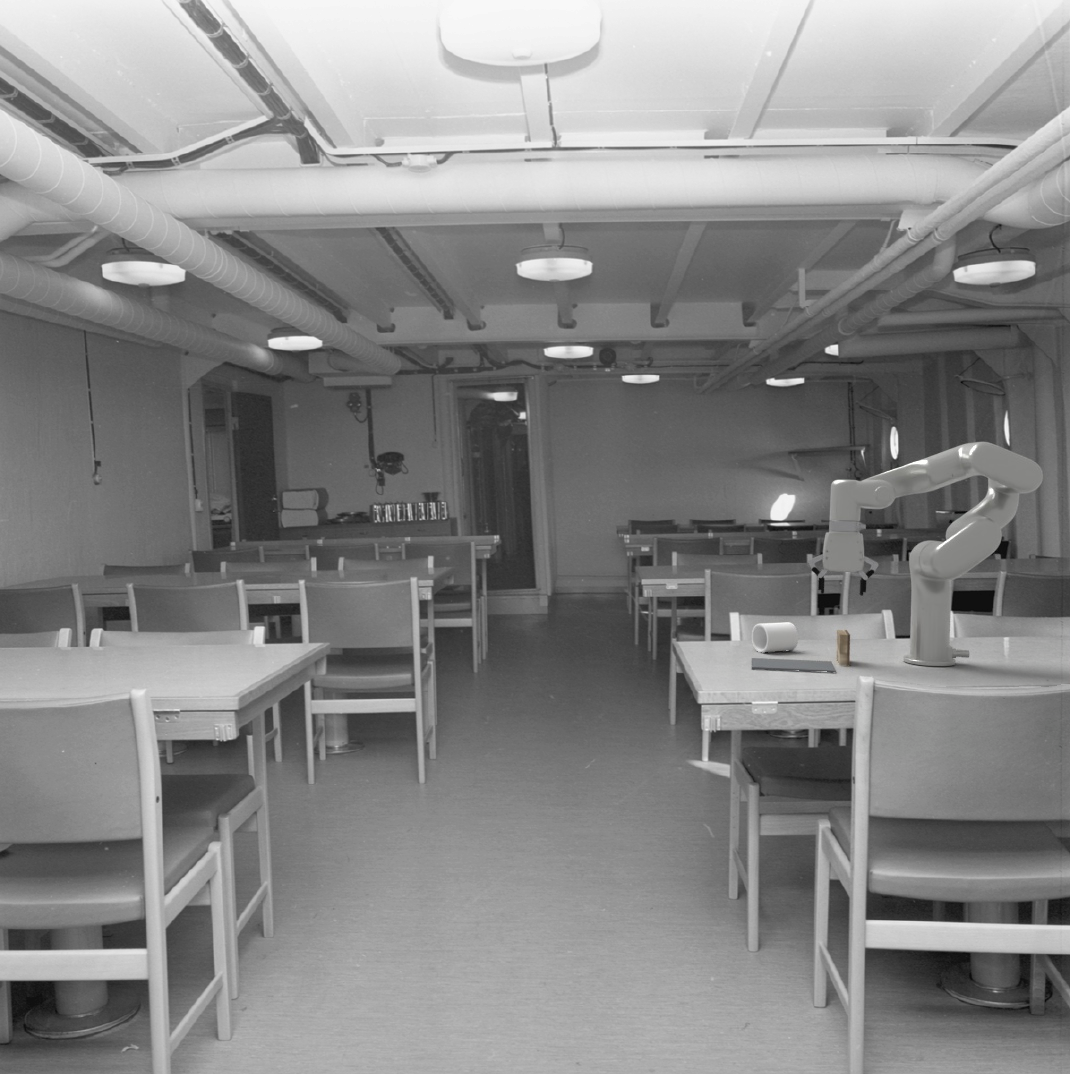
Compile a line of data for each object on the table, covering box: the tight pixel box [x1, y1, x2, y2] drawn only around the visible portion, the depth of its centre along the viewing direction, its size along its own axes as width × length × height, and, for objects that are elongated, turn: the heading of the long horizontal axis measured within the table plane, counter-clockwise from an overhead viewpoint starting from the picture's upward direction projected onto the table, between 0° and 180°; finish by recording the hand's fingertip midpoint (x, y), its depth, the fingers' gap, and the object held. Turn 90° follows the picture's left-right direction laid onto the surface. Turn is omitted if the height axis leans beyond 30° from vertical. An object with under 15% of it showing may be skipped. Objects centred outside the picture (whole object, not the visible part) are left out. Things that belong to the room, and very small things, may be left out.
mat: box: [751, 657, 837, 673], centre depth 251 cm, size 20×14×1 cm
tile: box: [836, 629, 851, 666], centre depth 256 cm, size 2×9×8 cm, turn 168°
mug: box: [750, 621, 799, 654], centre depth 276 cm, size 12×10×8 cm
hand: (841, 594), depth 256 cm, fingers open, 9 cm apart
